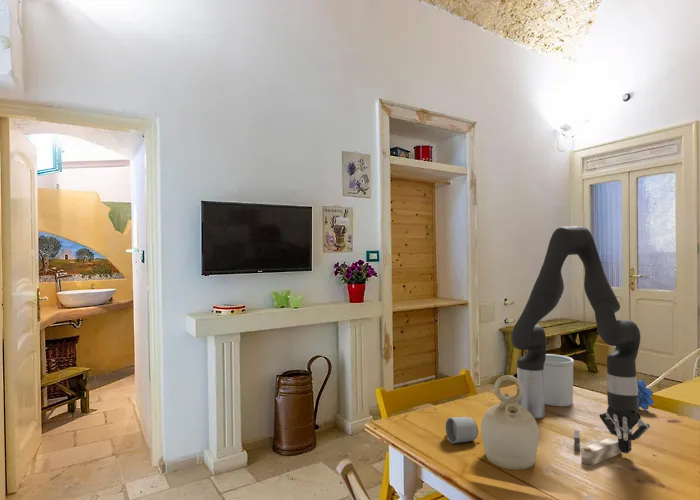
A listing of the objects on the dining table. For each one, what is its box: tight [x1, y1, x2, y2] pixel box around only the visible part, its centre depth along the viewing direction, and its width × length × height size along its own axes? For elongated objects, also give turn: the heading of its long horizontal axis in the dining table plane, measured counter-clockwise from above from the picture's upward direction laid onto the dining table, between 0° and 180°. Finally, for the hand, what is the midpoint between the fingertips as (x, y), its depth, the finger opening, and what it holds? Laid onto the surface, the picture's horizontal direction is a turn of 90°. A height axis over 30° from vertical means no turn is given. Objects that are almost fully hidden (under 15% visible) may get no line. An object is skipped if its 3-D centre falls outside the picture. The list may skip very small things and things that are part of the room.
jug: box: [480, 374, 540, 471], centre depth 124 cm, size 15×16×25 cm
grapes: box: [637, 379, 655, 411], centre depth 166 cm, size 12×7×12 cm, turn 35°
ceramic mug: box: [445, 416, 479, 444], centre depth 141 cm, size 11×8×8 cm
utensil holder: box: [544, 353, 575, 407], centre depth 176 cm, size 15×15×18 cm
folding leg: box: [580, 436, 622, 466], centre depth 123 cm, size 16×3×4 cm, turn 120°
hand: (625, 452), depth 123 cm, fingers closed
